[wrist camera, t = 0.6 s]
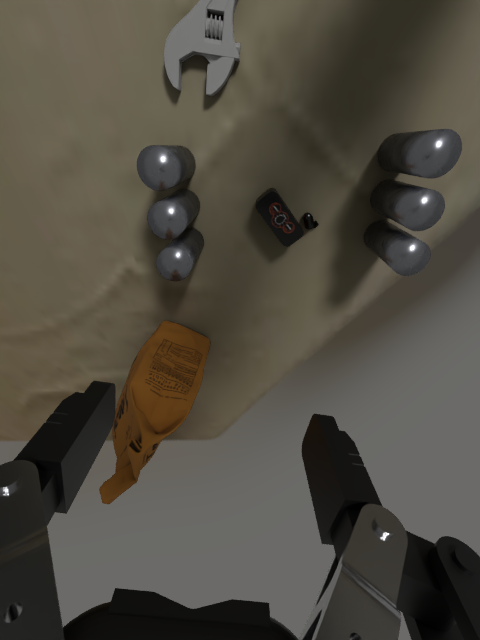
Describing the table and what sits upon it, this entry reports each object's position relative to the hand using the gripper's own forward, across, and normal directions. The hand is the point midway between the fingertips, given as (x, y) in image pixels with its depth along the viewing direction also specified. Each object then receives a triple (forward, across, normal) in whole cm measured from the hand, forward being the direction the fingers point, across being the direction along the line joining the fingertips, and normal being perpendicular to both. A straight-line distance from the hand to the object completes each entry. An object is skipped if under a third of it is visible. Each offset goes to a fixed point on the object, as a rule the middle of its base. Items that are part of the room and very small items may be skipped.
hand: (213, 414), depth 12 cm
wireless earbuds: (+30, -6, -6) cm, 31 cm away
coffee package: (+32, +6, +18) cm, 37 cm away
